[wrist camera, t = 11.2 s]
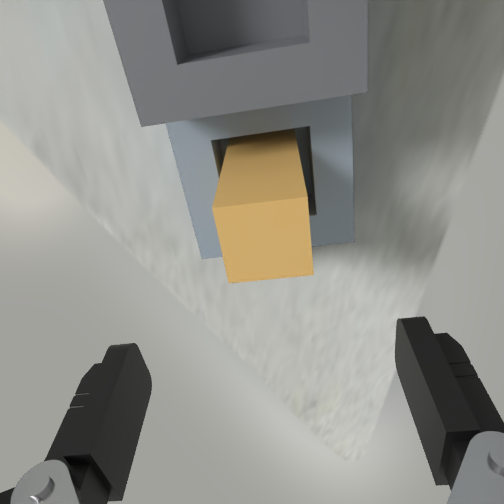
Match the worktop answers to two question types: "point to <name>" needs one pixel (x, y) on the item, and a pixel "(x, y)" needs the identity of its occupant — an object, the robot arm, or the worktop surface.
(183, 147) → the socket block
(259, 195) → the plug
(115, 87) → the worktop surface
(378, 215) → the worktop surface
